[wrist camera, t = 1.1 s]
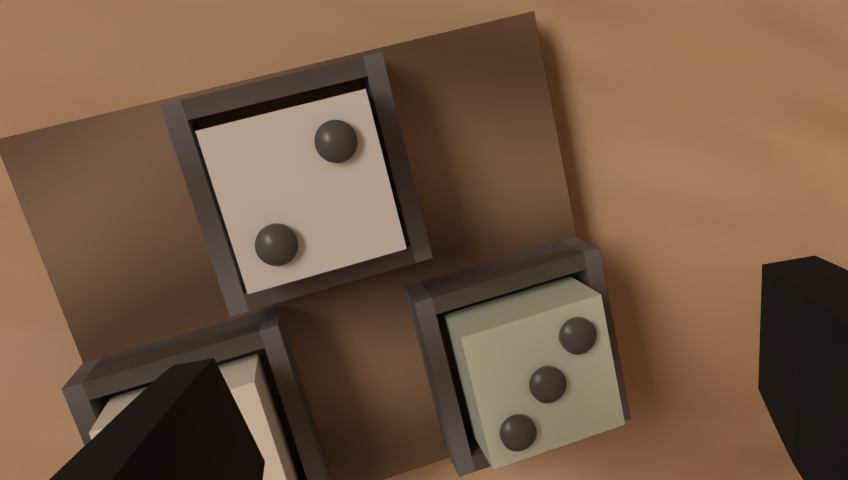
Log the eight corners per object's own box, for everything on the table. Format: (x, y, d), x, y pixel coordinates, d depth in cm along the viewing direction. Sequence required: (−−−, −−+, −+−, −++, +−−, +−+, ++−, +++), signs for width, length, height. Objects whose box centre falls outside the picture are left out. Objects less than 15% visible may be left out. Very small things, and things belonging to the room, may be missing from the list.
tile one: (298, 477, 19) (299, 523, 17) (160, 522, 18) (142, 576, 16) (258, 353, 18) (253, 385, 16) (110, 397, 18) (86, 436, 15)
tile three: (593, 395, 20) (628, 428, 18) (473, 435, 20) (495, 473, 18) (570, 276, 20) (604, 296, 17) (443, 314, 19) (462, 340, 17)
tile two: (394, 234, 18) (408, 250, 16) (252, 274, 18) (247, 296, 16) (357, 91, 17) (366, 88, 15) (206, 128, 17) (193, 131, 15)
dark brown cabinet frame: (592, 388, 23) (635, 428, 20) (166, 530, 21) (146, 596, 18) (519, 16, 20) (558, 1, 17) (13, 138, 18) (-40, 143, 15)
